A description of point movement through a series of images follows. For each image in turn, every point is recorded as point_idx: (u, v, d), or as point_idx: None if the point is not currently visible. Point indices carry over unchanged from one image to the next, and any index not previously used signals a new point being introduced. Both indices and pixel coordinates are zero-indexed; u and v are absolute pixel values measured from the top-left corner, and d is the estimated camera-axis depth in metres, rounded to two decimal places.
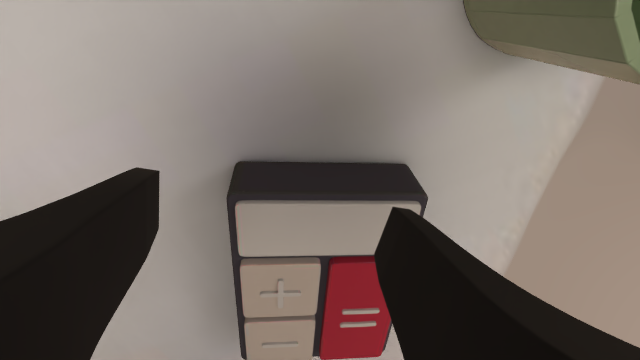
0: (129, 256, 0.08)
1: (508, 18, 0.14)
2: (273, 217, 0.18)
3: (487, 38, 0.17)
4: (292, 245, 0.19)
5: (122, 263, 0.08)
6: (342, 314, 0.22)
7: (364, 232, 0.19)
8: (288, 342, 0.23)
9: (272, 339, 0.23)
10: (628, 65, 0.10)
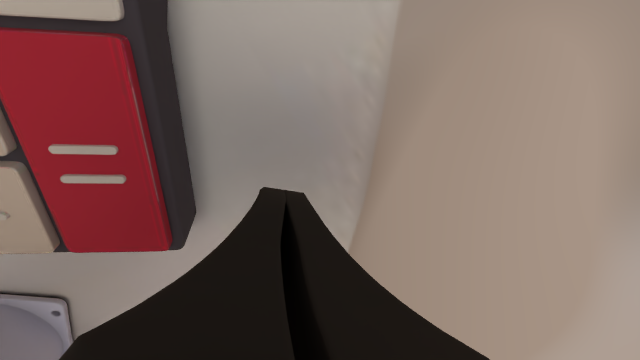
0: None
1: None
2: None
3: None
4: None
5: None
6: (54, 155, 0.13)
7: None
8: None
9: None
10: None
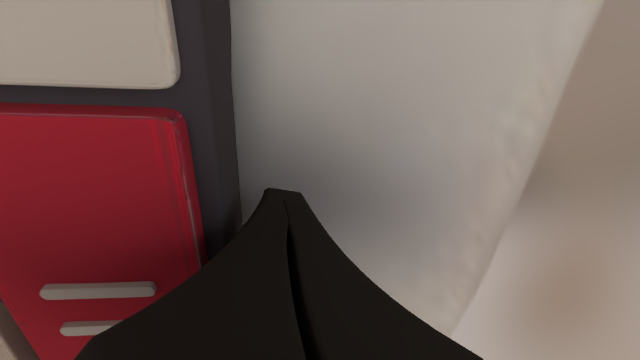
0: None
1: None
2: None
3: None
4: None
5: None
6: (50, 300, 0.08)
7: None
8: None
9: None
10: None
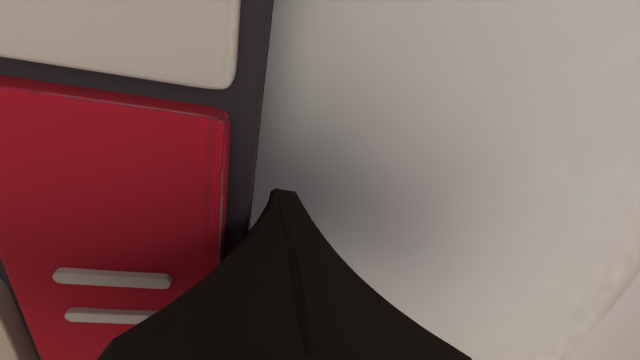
0: None
1: None
2: None
3: None
4: None
5: None
6: (61, 283, 0.08)
7: None
8: None
9: None
10: None
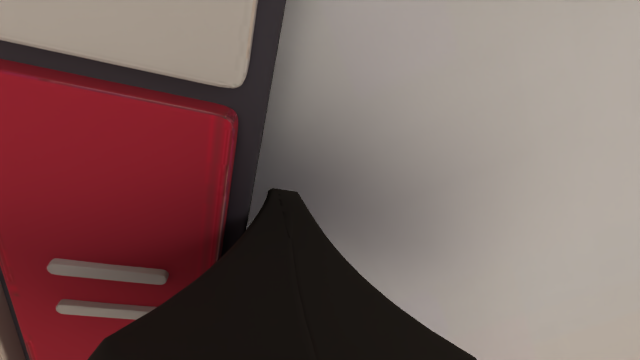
0: None
1: None
2: None
3: None
4: None
5: None
6: (55, 274, 0.08)
7: None
8: None
9: None
10: None
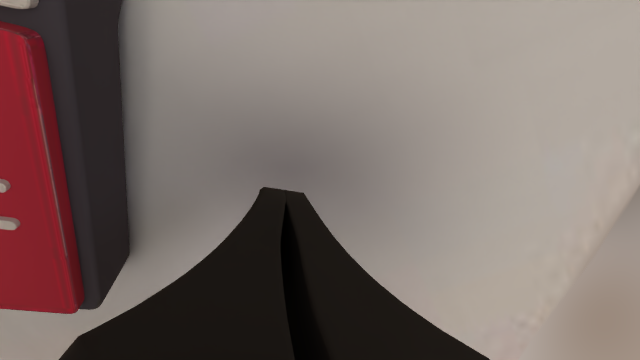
0: None
1: None
2: None
3: None
4: None
5: None
6: None
7: None
8: None
9: None
10: None
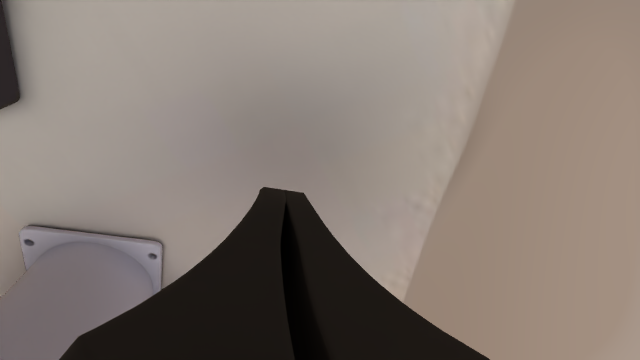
0: None
1: None
2: None
3: None
4: None
5: None
6: None
7: None
8: None
9: None
10: None
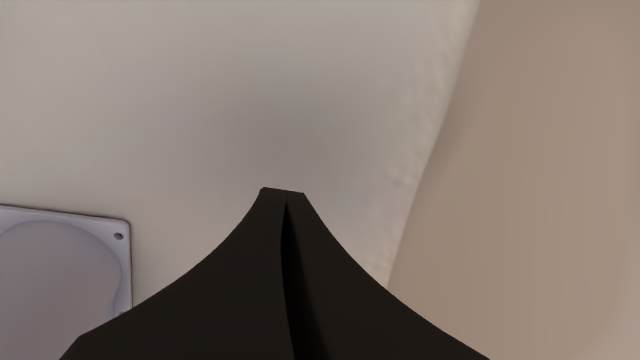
0: None
1: None
2: None
3: None
4: None
5: None
6: None
7: None
8: None
9: None
10: None
